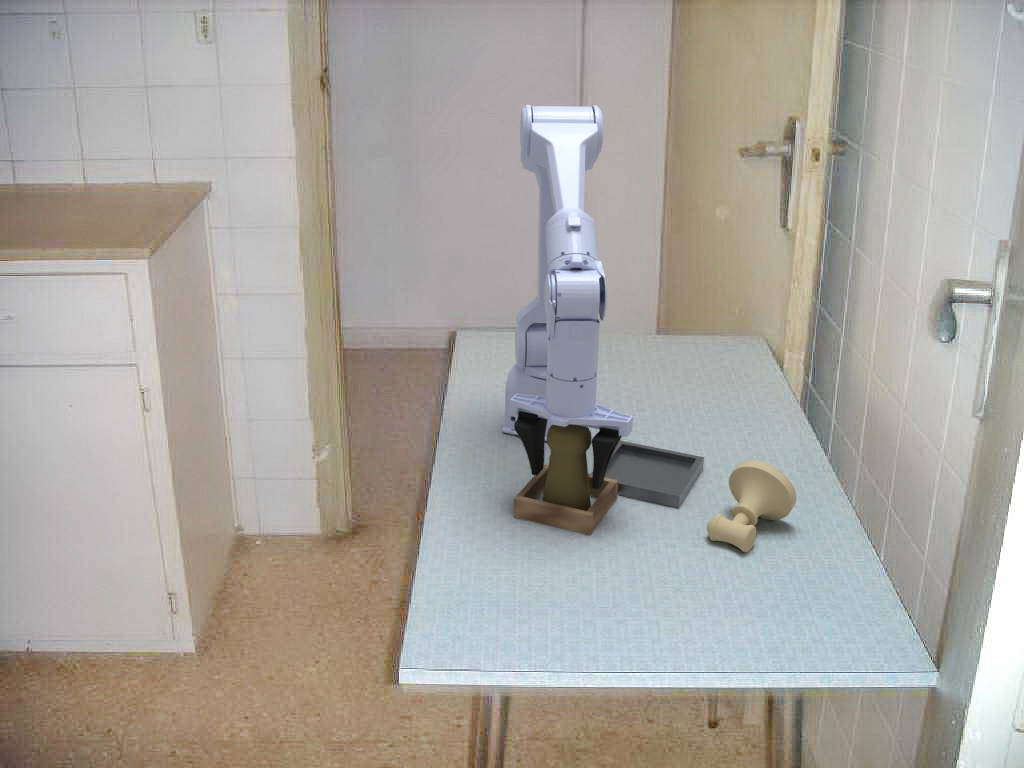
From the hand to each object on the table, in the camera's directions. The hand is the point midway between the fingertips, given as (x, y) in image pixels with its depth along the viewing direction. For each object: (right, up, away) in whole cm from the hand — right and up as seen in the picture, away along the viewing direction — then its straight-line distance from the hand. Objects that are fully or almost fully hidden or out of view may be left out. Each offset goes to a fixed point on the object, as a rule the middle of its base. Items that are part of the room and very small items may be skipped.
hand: (567, 478), depth 128 cm
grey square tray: (+11, -1, +9) cm, 14 cm away
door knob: (+21, -6, -3) cm, 22 cm away
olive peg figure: (0, -4, +2) cm, 4 cm away
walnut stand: (0, -4, +1) cm, 4 cm away
